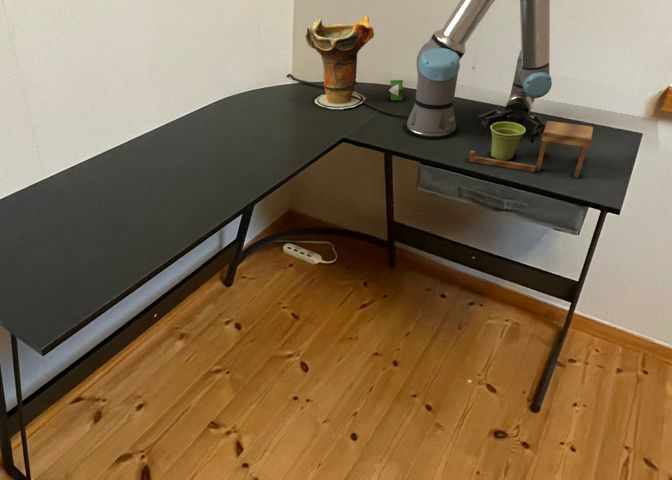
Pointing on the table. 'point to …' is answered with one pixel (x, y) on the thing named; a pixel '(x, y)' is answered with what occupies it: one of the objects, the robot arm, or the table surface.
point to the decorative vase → (339, 59)
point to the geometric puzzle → (396, 90)
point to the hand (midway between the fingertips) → (507, 135)
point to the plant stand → (552, 133)
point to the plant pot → (505, 139)
